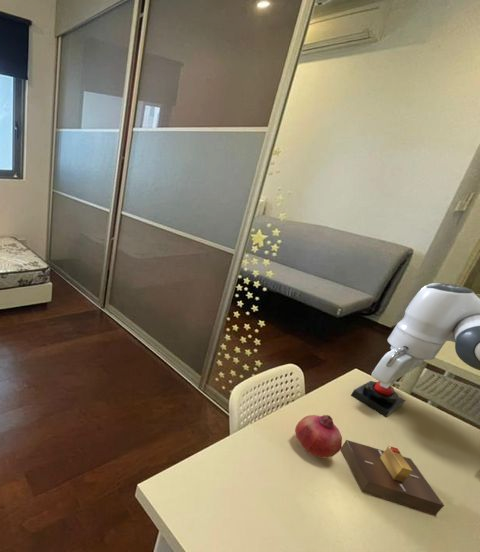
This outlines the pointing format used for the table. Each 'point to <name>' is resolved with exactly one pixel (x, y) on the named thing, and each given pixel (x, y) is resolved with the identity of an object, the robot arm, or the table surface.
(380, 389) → the bell button
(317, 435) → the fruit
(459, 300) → the robot arm
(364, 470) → the plate
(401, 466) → the block
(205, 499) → the table surface
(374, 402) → the bell block
